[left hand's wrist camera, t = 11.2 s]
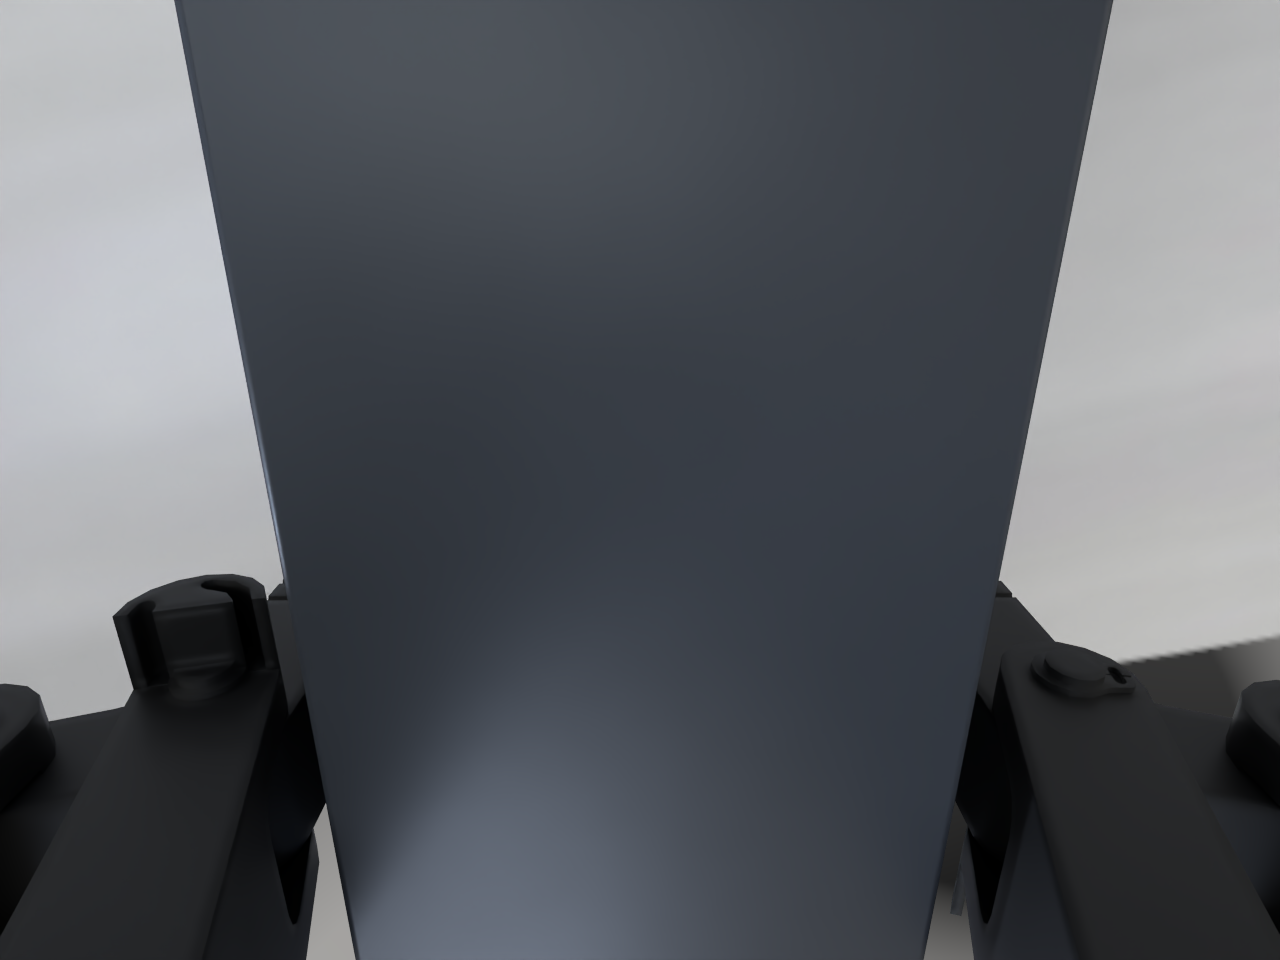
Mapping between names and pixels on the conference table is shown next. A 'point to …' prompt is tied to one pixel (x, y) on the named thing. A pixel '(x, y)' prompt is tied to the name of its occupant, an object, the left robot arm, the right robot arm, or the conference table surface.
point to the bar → (641, 440)
